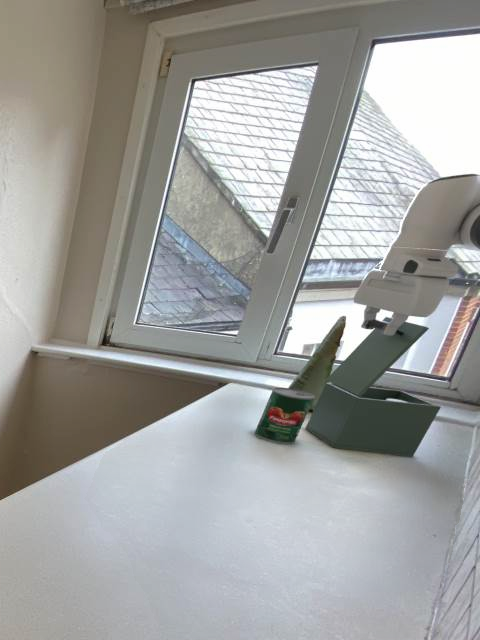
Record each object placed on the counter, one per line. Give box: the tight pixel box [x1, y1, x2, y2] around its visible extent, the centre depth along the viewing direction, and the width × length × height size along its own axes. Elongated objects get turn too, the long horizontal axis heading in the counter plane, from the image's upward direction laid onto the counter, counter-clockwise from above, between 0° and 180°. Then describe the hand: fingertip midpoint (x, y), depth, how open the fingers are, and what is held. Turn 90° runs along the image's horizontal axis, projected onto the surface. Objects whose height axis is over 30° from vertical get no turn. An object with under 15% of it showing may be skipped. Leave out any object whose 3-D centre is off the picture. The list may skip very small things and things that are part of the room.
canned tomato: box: [253, 387, 315, 445], centre depth 126 cm, size 8×8×11 cm
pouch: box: [287, 315, 347, 411], centre depth 147 cm, size 11×12×25 cm
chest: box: [304, 382, 442, 458], centre depth 126 cm, size 16×13×12 cm
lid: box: [326, 316, 430, 397], centre depth 121 cm, size 16×13×5 cm
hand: (376, 331), depth 119 cm, fingers closed on lid, 5 cm apart
